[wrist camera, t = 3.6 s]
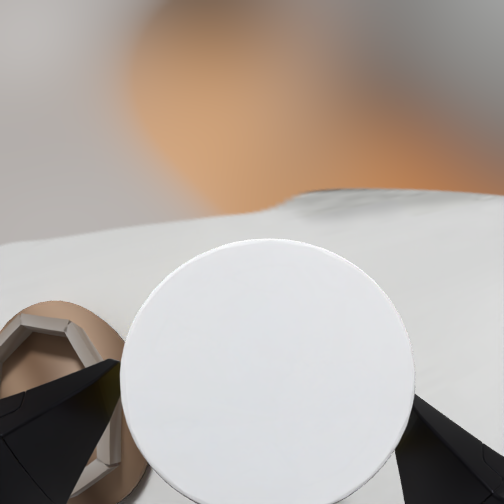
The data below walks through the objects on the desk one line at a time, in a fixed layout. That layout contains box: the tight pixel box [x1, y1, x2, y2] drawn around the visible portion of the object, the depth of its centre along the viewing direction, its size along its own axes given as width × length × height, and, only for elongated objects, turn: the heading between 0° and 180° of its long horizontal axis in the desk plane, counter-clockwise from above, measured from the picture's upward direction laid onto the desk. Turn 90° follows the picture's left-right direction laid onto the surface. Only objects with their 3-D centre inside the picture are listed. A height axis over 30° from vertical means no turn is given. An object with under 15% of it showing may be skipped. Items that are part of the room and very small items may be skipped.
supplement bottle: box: [120, 239, 415, 504], centre depth 9 cm, size 7×7×13 cm
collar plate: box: [0, 301, 148, 504], centre depth 12 cm, size 15×15×4 cm
